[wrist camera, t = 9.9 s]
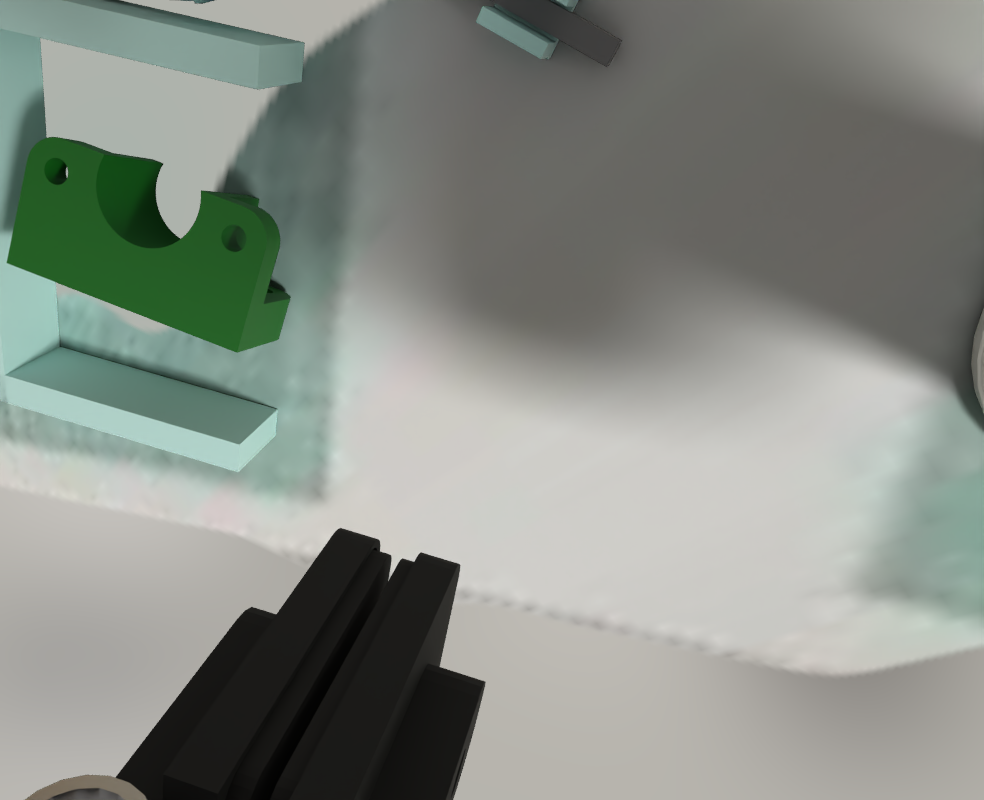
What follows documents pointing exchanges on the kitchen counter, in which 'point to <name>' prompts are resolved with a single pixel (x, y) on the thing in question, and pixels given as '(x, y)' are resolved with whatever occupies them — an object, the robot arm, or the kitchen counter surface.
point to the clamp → (148, 245)
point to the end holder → (32, 299)
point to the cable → (566, 27)
